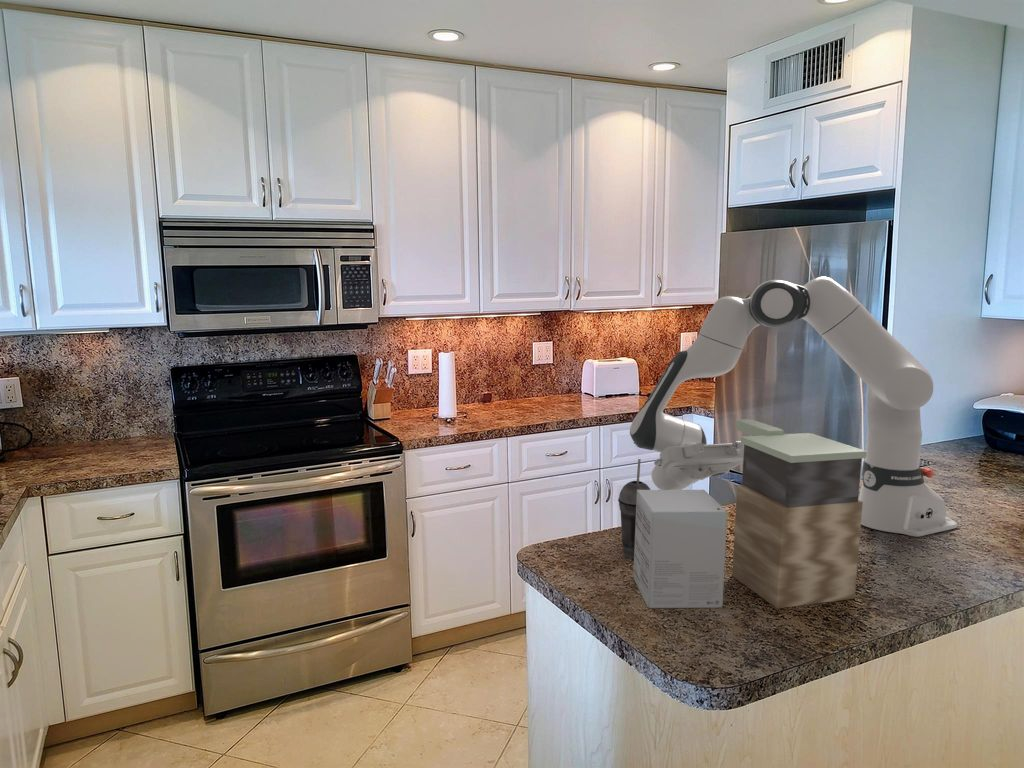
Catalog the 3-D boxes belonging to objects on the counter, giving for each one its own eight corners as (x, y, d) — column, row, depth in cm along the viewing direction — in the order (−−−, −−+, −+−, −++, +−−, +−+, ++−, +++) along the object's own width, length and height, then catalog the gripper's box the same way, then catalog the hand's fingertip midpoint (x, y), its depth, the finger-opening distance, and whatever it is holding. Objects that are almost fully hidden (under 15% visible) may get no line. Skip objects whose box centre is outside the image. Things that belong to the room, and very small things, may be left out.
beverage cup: (611, 557, 144) (614, 462, 141) (623, 545, 150) (626, 454, 148) (646, 564, 141) (649, 466, 138) (656, 552, 147) (660, 458, 144)
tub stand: (803, 567, 140) (813, 439, 136) (854, 598, 126) (866, 457, 123) (731, 575, 136) (739, 443, 132) (776, 608, 122) (786, 462, 119)
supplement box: (701, 576, 135) (705, 488, 133) (723, 608, 122) (729, 511, 120) (632, 577, 135) (635, 488, 132) (647, 609, 122) (651, 511, 119)
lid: (774, 427, 147) (775, 417, 147) (866, 457, 122) (867, 446, 122) (709, 430, 143) (710, 420, 143) (791, 462, 118) (791, 451, 118)
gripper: (648, 451, 164) (674, 433, 152) (726, 447, 169) (758, 429, 157) (653, 478, 162) (680, 462, 149) (732, 473, 167) (764, 457, 155)
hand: (720, 445), depth 153 cm, fingers open, 8 cm apart
